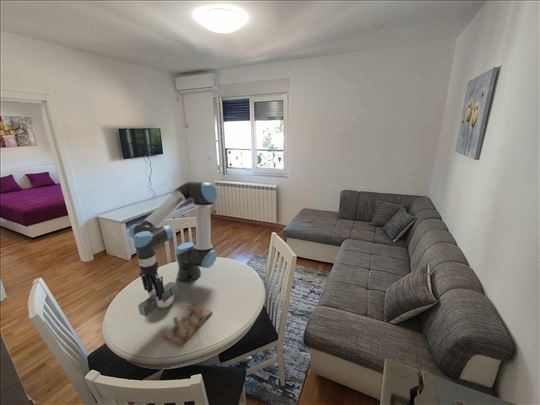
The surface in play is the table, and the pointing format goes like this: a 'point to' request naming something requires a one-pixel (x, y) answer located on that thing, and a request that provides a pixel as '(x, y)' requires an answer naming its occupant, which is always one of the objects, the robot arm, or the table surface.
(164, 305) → the lidded jar
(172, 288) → the grey notched bar
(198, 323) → the rack
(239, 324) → the table surface
